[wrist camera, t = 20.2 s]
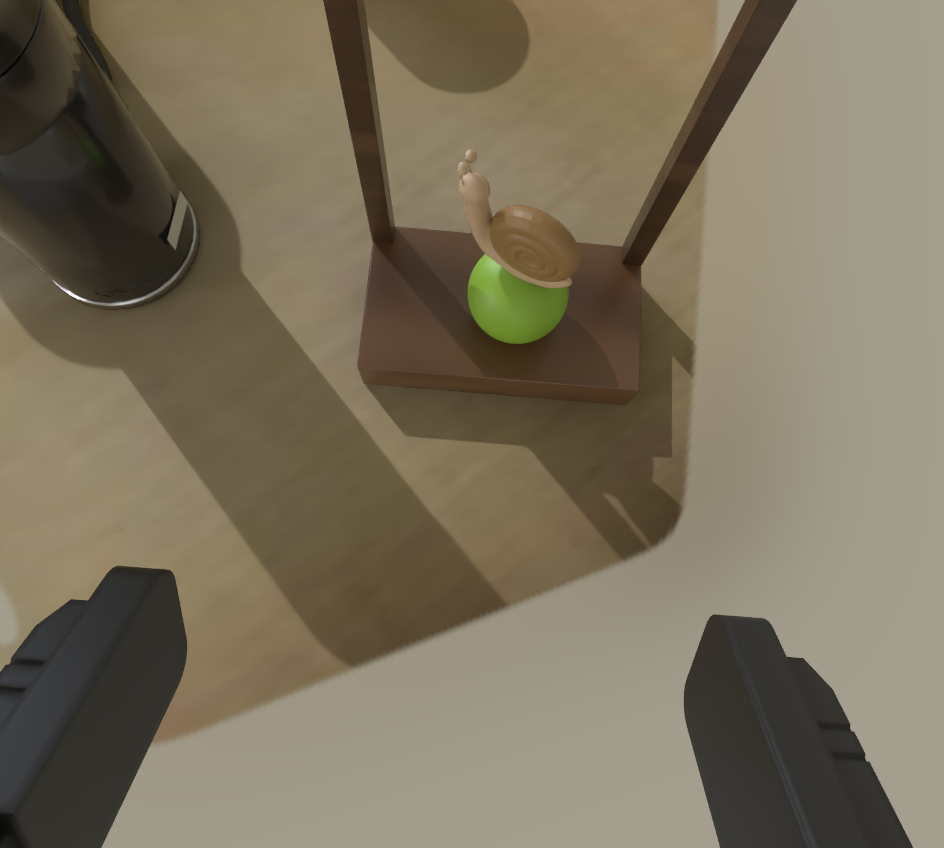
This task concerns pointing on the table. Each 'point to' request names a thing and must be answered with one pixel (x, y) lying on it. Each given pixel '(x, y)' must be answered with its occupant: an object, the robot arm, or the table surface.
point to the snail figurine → (516, 264)
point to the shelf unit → (456, 254)
